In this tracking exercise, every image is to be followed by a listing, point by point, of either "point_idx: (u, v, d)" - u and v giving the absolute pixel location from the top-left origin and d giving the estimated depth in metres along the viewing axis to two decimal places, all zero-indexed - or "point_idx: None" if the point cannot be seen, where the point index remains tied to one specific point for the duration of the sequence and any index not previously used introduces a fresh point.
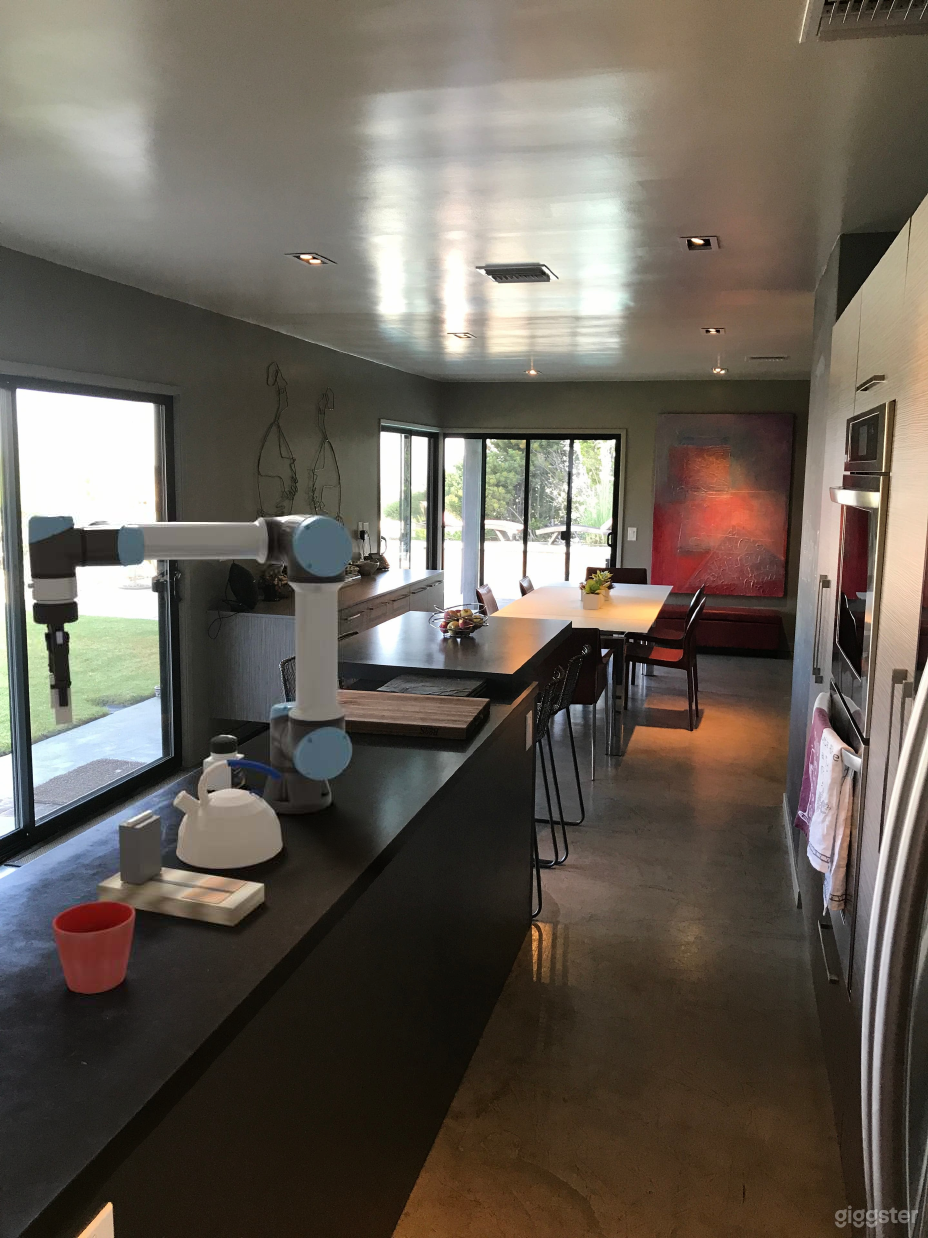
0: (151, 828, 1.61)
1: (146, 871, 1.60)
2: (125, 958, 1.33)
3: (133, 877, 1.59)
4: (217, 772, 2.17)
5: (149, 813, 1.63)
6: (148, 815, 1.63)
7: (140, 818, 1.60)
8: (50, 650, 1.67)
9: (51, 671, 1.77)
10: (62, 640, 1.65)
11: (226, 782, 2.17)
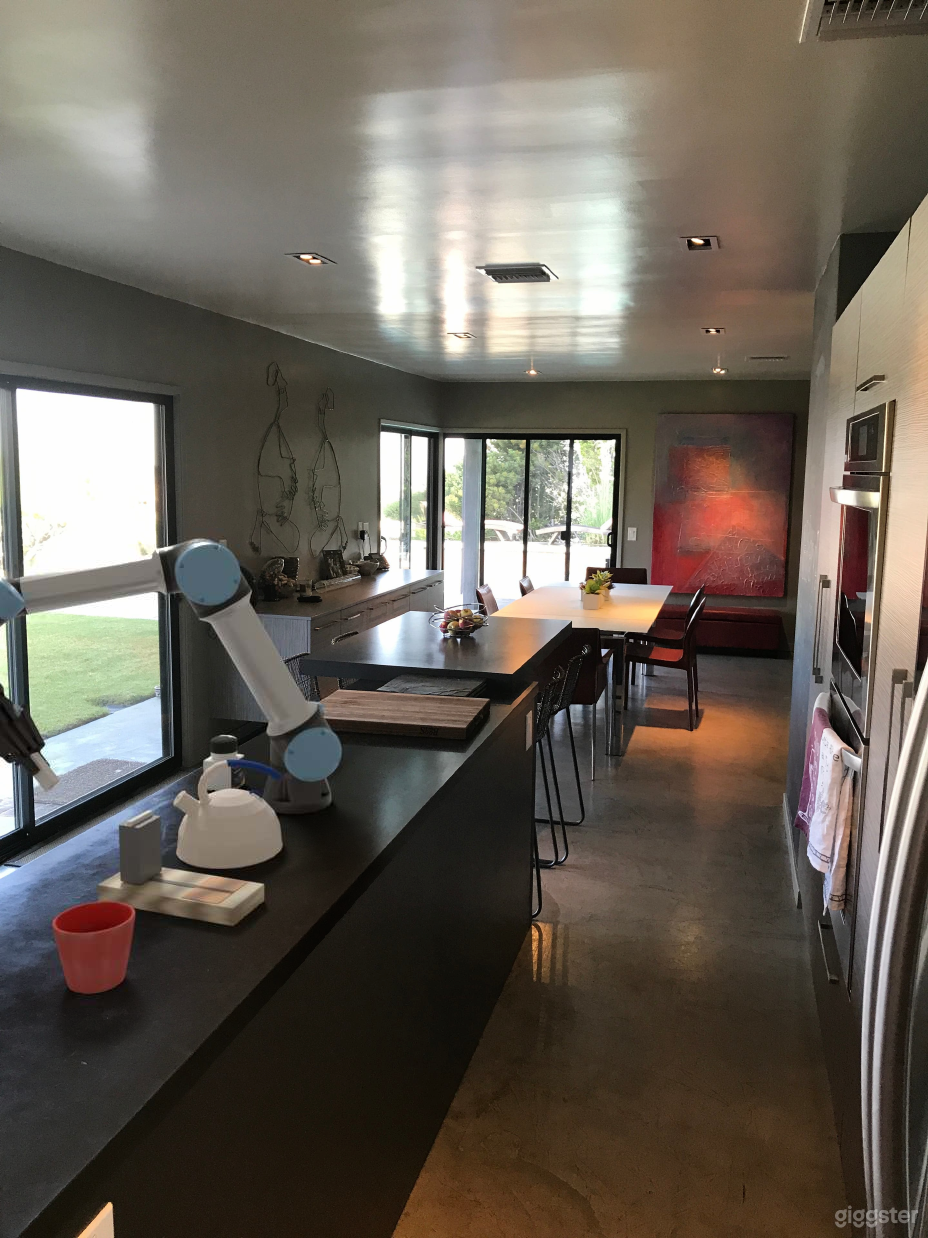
0: (151, 828, 1.61)
1: (146, 871, 1.60)
2: (125, 958, 1.33)
3: (133, 877, 1.59)
4: (217, 772, 2.17)
5: (149, 813, 1.63)
6: (148, 815, 1.63)
7: (140, 818, 1.60)
8: None
9: None
10: None
11: (226, 782, 2.17)
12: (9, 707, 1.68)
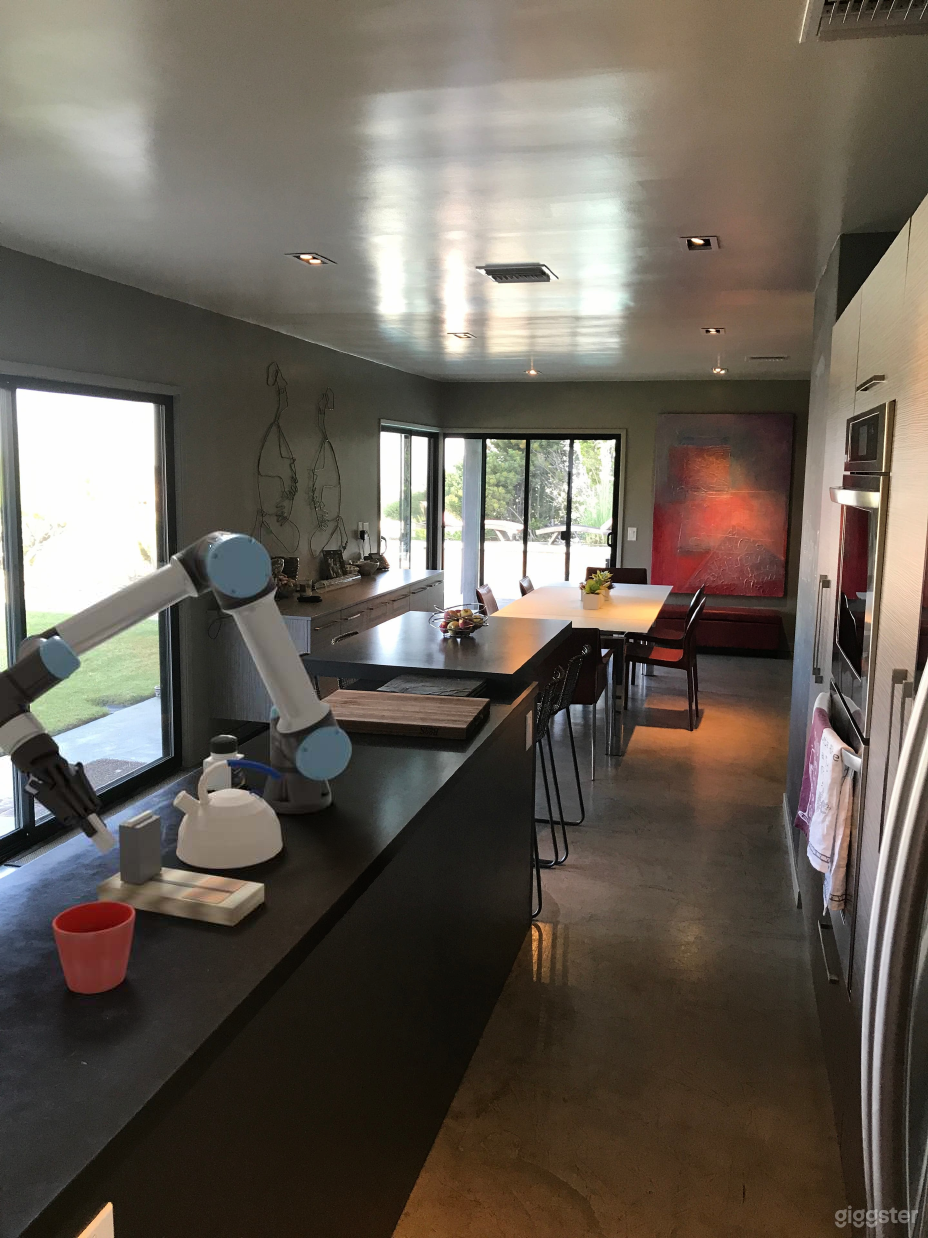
0: (151, 828, 1.61)
1: (146, 871, 1.60)
2: (125, 958, 1.33)
3: (133, 877, 1.59)
4: (217, 772, 2.17)
5: (149, 813, 1.63)
6: (148, 815, 1.63)
7: (140, 818, 1.60)
8: None
9: None
10: (35, 790, 1.60)
11: (226, 782, 2.17)
12: (65, 767, 1.66)
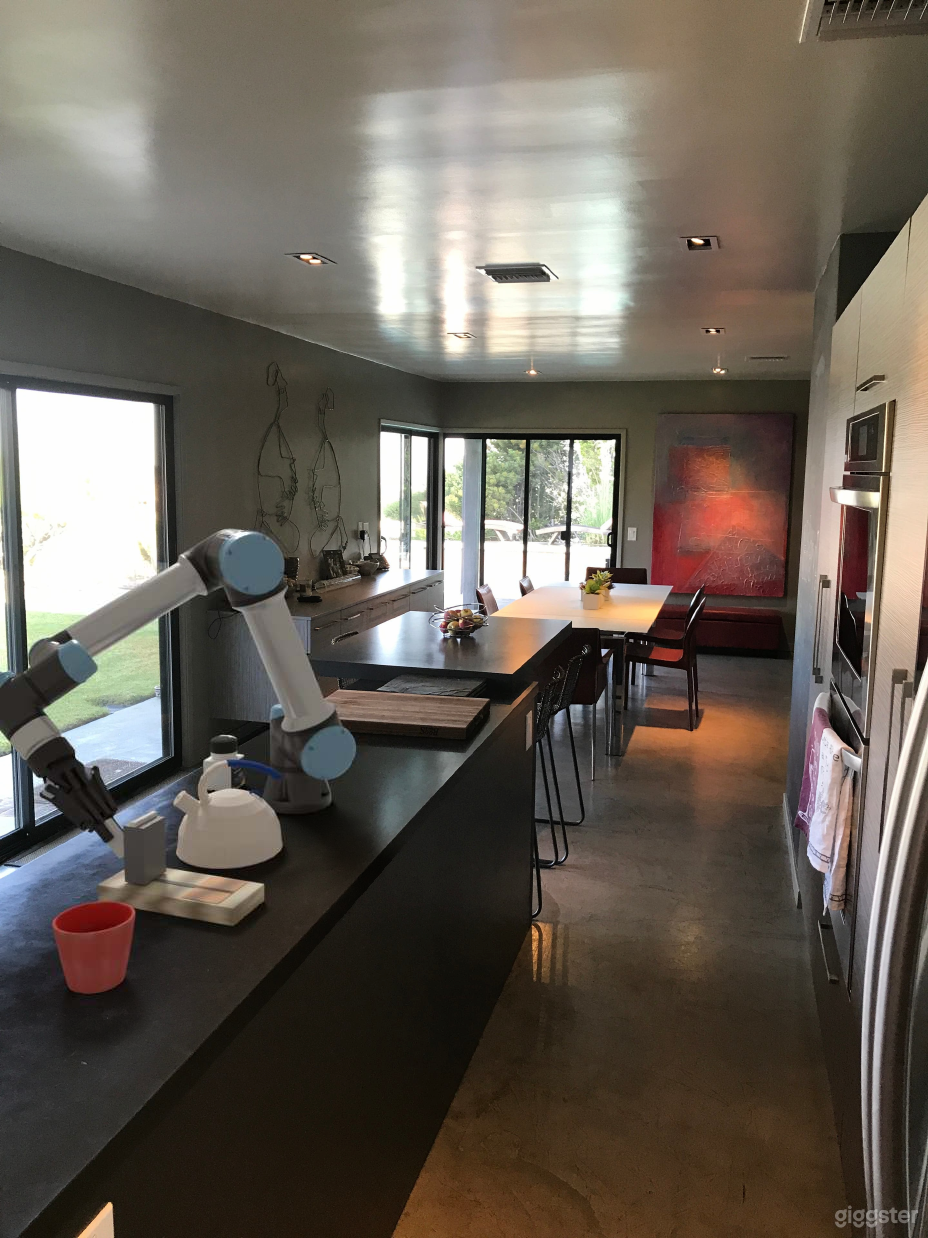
0: (155, 829, 1.61)
1: (151, 871, 1.60)
2: (125, 958, 1.33)
3: (138, 878, 1.59)
4: (217, 772, 2.17)
5: (153, 814, 1.62)
6: (152, 816, 1.62)
7: (144, 819, 1.60)
8: None
9: None
10: (52, 794, 1.58)
11: (226, 782, 2.17)
12: (81, 771, 1.64)
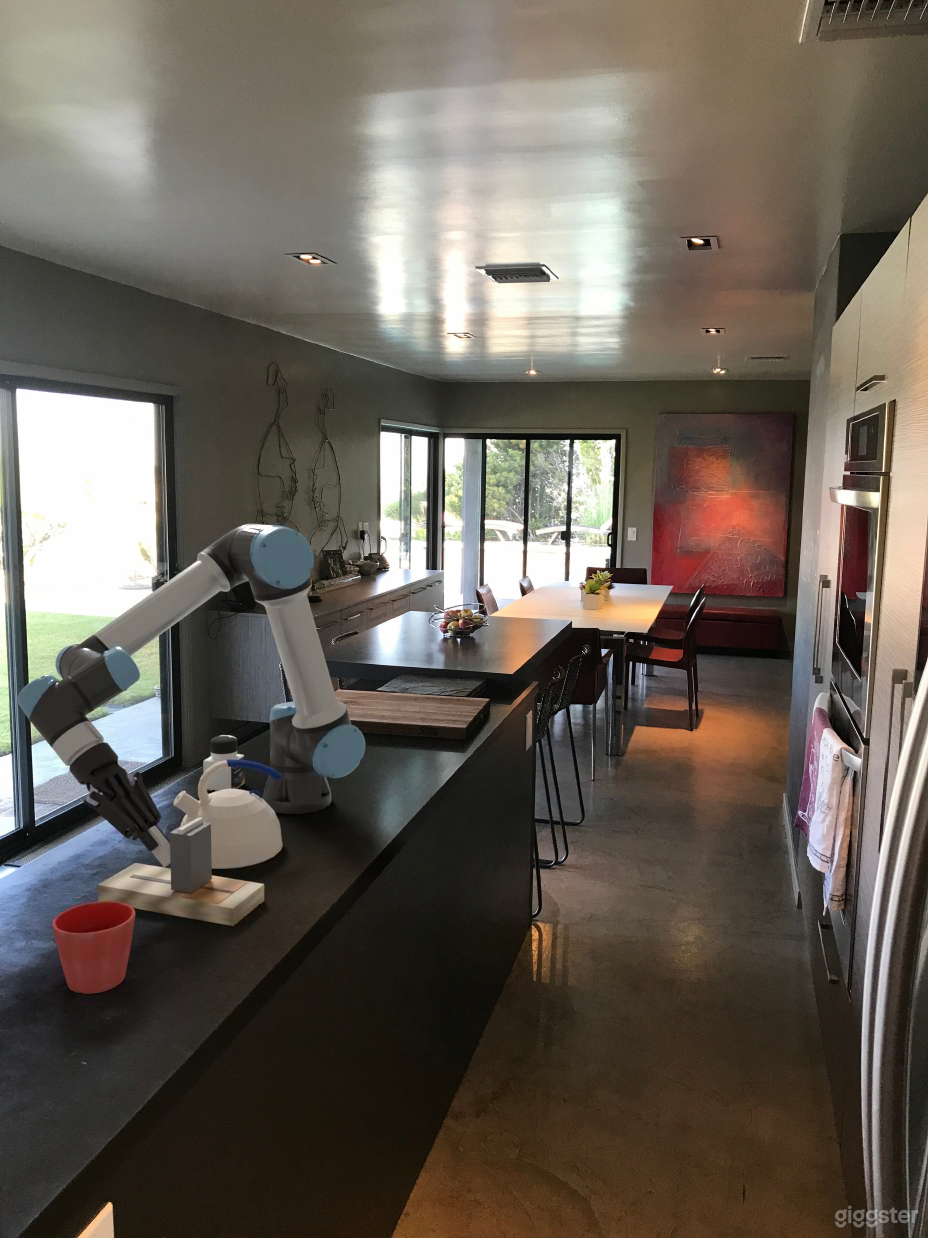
0: (202, 836, 1.58)
1: (197, 879, 1.57)
2: (125, 958, 1.33)
3: (184, 886, 1.56)
4: (217, 772, 2.17)
5: (199, 820, 1.60)
6: (198, 822, 1.60)
7: (191, 826, 1.57)
8: None
9: None
10: (96, 801, 1.55)
11: (226, 782, 2.17)
12: (124, 778, 1.61)
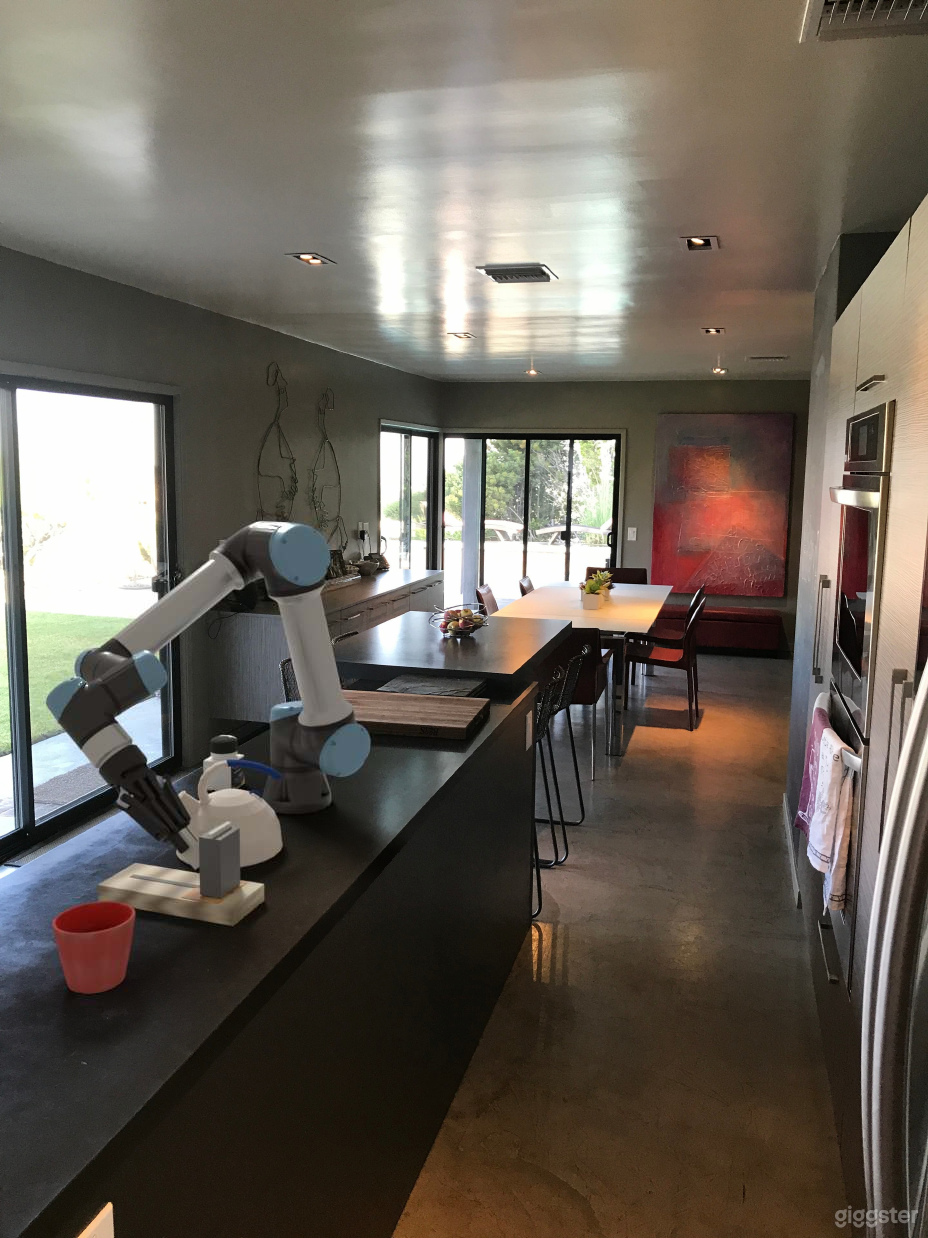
0: (231, 840, 1.56)
1: (226, 884, 1.56)
2: (125, 958, 1.33)
3: (214, 891, 1.55)
4: (217, 772, 2.17)
5: (228, 825, 1.58)
6: (227, 827, 1.58)
7: (220, 830, 1.56)
8: None
9: None
10: (127, 804, 1.54)
11: (226, 782, 2.17)
12: (154, 780, 1.60)
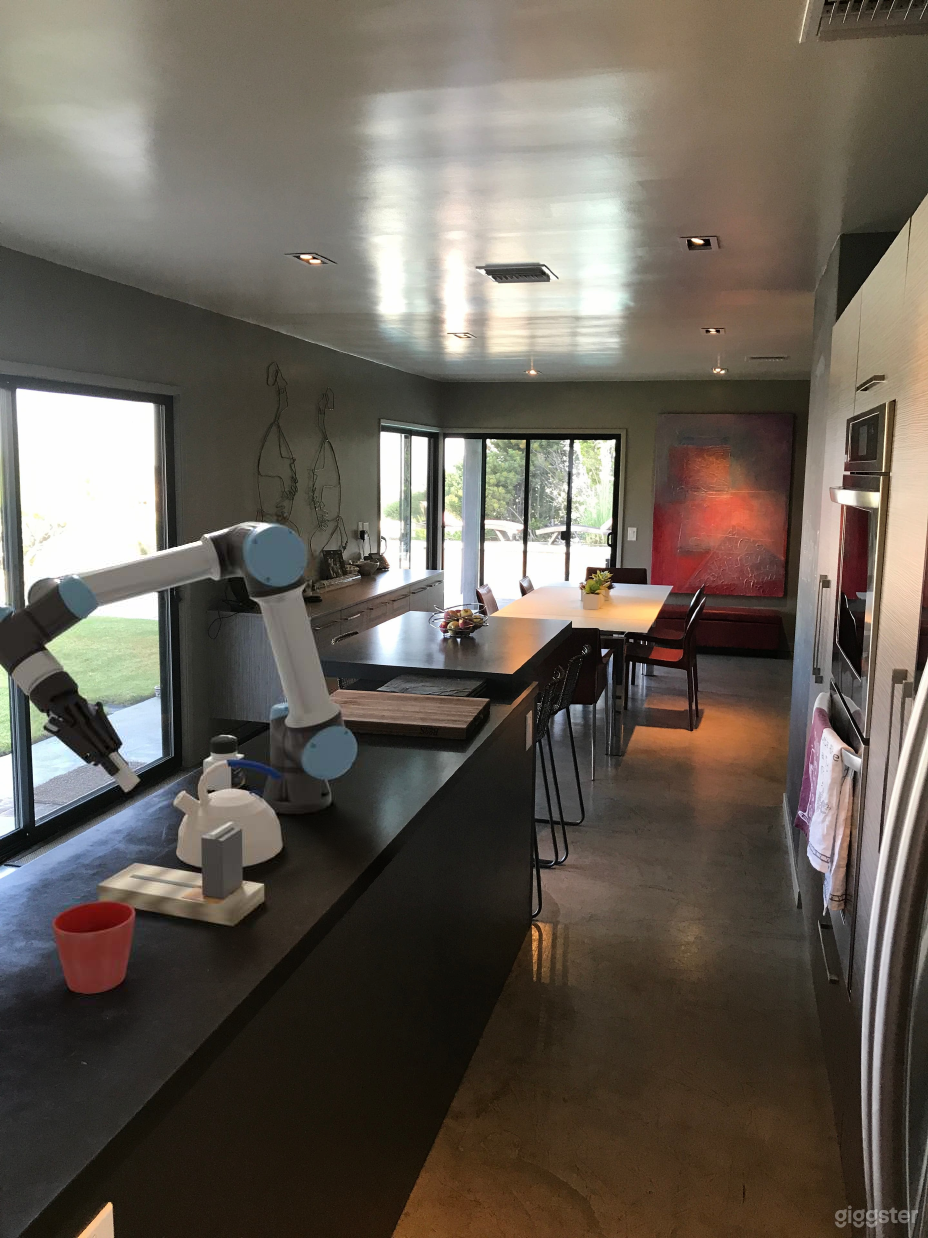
0: (233, 840, 1.56)
1: (229, 884, 1.56)
2: (125, 958, 1.33)
3: (216, 892, 1.54)
4: (217, 772, 2.17)
5: (230, 825, 1.58)
6: (229, 827, 1.58)
7: (222, 830, 1.56)
8: None
9: None
10: (56, 727, 1.56)
11: (226, 782, 2.17)
12: (85, 706, 1.63)
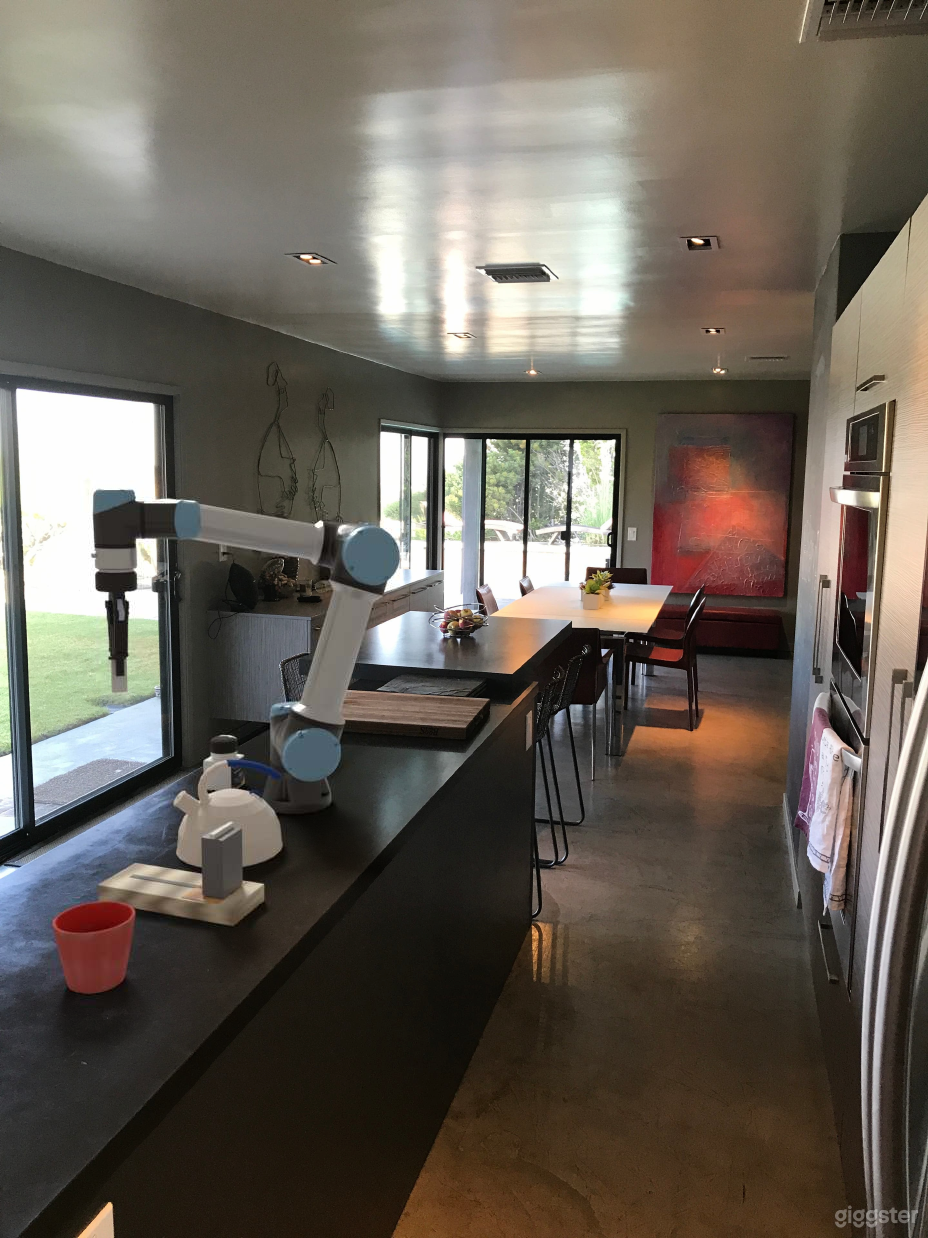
0: (233, 840, 1.56)
1: (229, 884, 1.56)
2: (125, 958, 1.33)
3: (216, 892, 1.54)
4: (217, 772, 2.17)
5: (230, 825, 1.58)
6: (229, 827, 1.58)
7: (222, 830, 1.56)
8: (110, 621, 1.78)
9: (112, 655, 1.81)
10: (124, 619, 1.75)
11: (226, 782, 2.17)
12: None
